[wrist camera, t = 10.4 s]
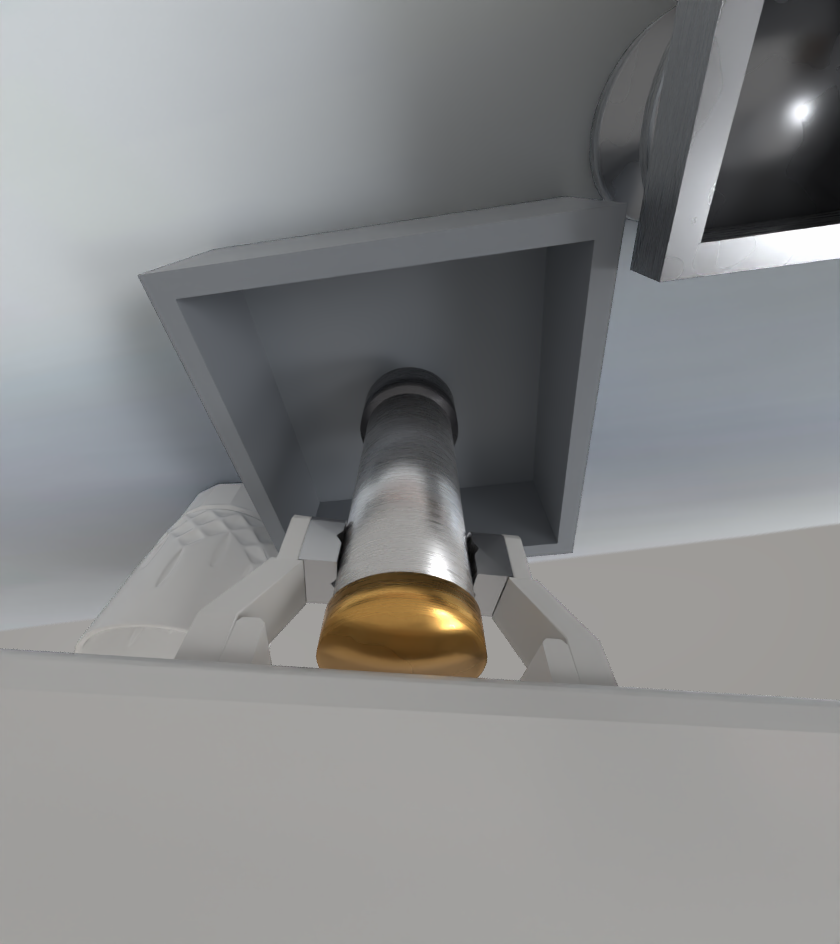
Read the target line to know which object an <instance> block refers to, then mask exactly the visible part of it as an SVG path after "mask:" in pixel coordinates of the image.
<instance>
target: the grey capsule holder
mask: <svg viewBox="0 0 840 944" xmlns="http://www.w3.org/2000/svg"><path fill="white" fill-rule="evenodd" d="M590 164H591V169H592V175H593V178H594V181H595V185H596V187H597V189H598V191H599V193H600V195H601V197H602V198H603V200H604V201H613V202H623V203H628V205H627V211H626V218H627V219H631V220H635V221H639V222H638V228H637V234H636V240H635V245H634V251H633V257H632V262H631V268H630V270H632V271H635V272H637V273H639V274H642V275H644V276H647V277H649V278H651V279H654V280H656V281H658V282H664V281H672V280H679V279H687V278H695V277H702V276H710V275H717V274H725V273H732V272H740V271H747V270H755V269H762V268H770V267H777V266H785V265H792V264H800V263H807V262H815V261H823V260H830V259H838V258H840V0H678V1H677V6H675V7H674V8H672V9H671V10H669V11H668V12H666V13H665V14H663V15H662V16H660V17H659V18H658V19H657V20H655V21H654V22H653V23H652V24H650V25H649V26H648V27H647V28H646V29H645V30H644V31H643V32H642V33H641V34H640V35H639V36H638V37H637V38H636V39H635V40H634V41H633V43H632V44H631V45H630V46H629V47H628V49H627V50H626V51H625V53H624V54H623V56H622V57H621V58H620V60H619V61H618V63H617V64H616V66H615V68H614V70H613V71H612V73H611V75H610V77H609V78H608V81H607V83H606V85H605V87H604V89H603V92H602V94H601V97H600V100H599V102H598V105H597V108H596V112H595V116H594V120H593V124H592V131H591V137H590Z"/></svg>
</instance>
